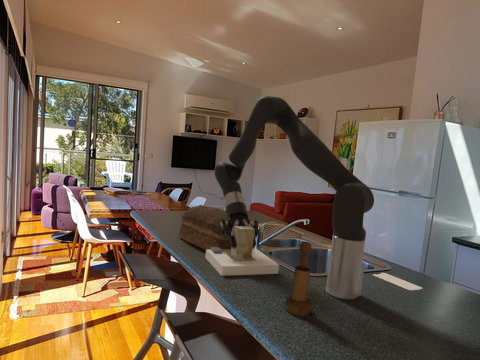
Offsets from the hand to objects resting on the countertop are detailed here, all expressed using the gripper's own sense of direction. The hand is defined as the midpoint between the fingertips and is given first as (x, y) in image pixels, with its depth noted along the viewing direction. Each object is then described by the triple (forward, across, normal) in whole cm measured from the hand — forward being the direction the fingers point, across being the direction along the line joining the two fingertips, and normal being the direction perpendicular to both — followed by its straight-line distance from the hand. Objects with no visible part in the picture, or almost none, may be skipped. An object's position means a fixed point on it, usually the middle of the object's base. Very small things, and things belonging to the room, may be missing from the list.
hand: (244, 247), depth 123 cm
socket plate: (+4, 0, +6) cm, 7 cm away
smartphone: (+18, +51, -8) cm, 55 cm away
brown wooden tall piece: (+29, +2, -19) cm, 34 cm away
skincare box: (+3, 0, +5) cm, 6 cm away
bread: (-13, -3, +24) cm, 28 cm away
